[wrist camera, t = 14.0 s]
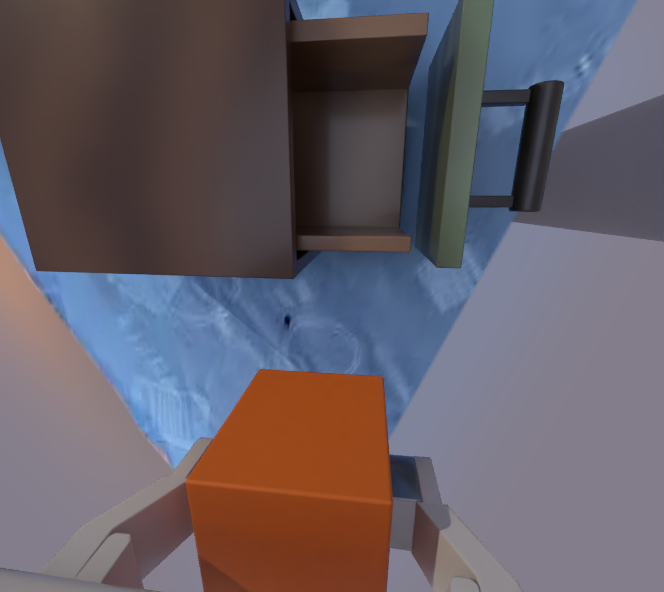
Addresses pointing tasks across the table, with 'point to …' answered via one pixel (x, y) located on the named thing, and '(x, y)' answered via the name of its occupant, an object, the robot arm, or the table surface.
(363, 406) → the burnt orange cube
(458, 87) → the drawer
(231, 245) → the cabinet
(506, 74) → the table surface
